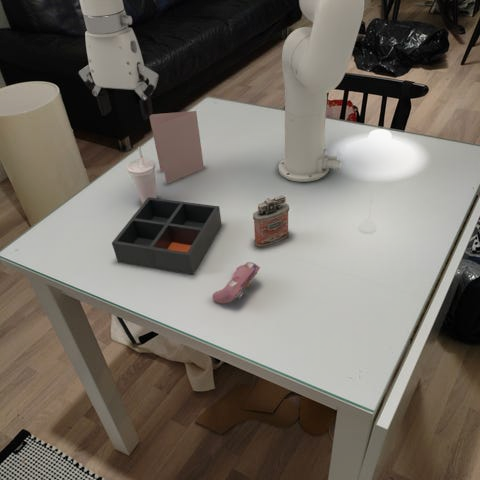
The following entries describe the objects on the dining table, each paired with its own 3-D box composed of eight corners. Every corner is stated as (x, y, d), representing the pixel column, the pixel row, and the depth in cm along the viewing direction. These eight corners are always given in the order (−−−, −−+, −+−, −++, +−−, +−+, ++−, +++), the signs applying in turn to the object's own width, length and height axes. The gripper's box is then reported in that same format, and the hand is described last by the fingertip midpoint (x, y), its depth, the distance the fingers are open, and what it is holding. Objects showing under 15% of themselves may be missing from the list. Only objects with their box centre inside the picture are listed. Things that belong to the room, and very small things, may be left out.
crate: (221, 225, 108) (219, 206, 104) (193, 275, 97) (189, 255, 93) (152, 216, 112) (148, 197, 109) (117, 262, 101) (111, 242, 98)
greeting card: (204, 166, 126) (196, 109, 116) (203, 181, 121) (195, 123, 111) (160, 169, 127) (149, 113, 116) (158, 184, 122) (146, 126, 111)
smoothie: (157, 209, 114) (145, 154, 104) (132, 208, 115) (117, 153, 105) (166, 195, 118) (154, 140, 108) (141, 193, 119) (128, 139, 109)
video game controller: (228, 314, 91) (240, 296, 85) (209, 299, 91) (219, 280, 85) (254, 283, 96) (267, 264, 90) (237, 269, 96) (248, 249, 90)
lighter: (259, 250, 101) (257, 210, 93) (251, 242, 103) (249, 202, 96) (292, 238, 103) (292, 197, 96) (283, 230, 105) (283, 189, 98)
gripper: (157, 17, 89) (171, 110, 101) (76, 15, 93) (100, 104, 106) (139, 30, 84) (156, 126, 96) (54, 27, 88) (82, 119, 101)
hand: (127, 114), depth 101 cm, fingers open, 9 cm apart
